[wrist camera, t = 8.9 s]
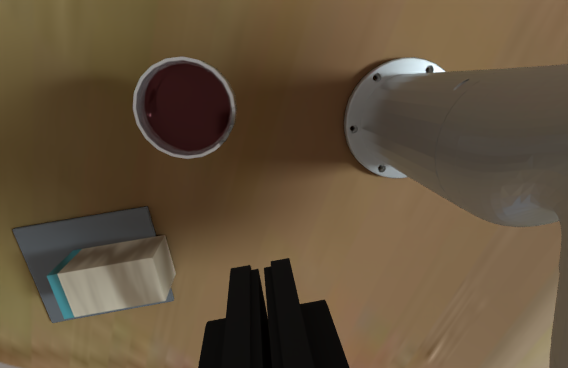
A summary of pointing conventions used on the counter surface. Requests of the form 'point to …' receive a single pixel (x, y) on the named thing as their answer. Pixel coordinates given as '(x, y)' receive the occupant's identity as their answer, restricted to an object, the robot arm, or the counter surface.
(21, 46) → the counter surface
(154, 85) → the wineglass
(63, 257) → the rubber mat
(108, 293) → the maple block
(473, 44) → the counter surface
